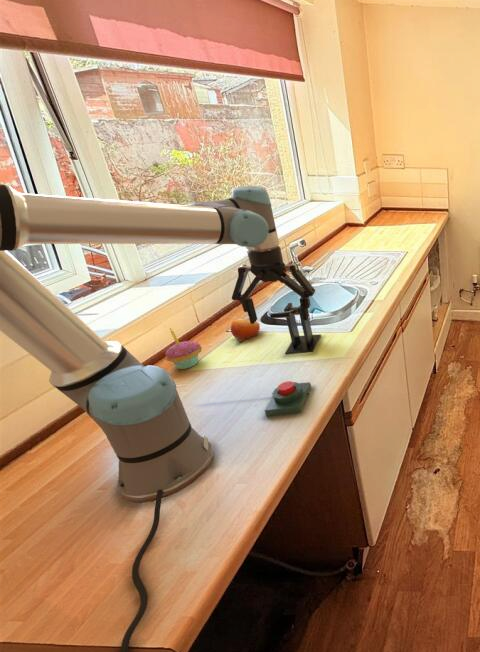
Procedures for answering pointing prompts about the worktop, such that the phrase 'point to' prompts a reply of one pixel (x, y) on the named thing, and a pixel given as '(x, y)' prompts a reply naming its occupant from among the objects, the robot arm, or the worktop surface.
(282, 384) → the button
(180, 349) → the cupcake
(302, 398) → the button box
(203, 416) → the worktop surface
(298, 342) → the bracket
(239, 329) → the fruit
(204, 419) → the worktop surface
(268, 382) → the worktop surface
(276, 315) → the lever
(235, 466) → the worktop surface
